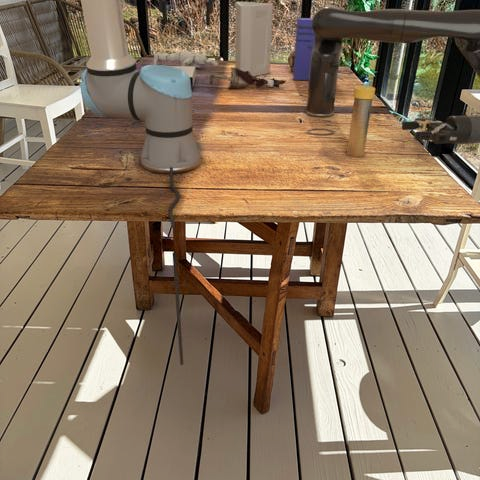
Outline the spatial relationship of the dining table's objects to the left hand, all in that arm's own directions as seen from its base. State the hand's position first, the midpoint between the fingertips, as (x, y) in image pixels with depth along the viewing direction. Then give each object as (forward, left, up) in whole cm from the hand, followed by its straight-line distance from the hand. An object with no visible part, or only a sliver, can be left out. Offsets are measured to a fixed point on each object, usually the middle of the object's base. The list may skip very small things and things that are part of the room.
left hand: (186, 24), depth 150 cm
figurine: (+36, -13, -27) cm, 47 cm away
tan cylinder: (-29, -55, -27) cm, 68 cm away
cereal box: (+59, -38, -27) cm, 75 cm away
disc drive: (+36, +18, -27) cm, 48 cm away
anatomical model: (+77, -29, -27) cm, 86 cm away
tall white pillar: (+66, -11, -27) cm, 72 cm away
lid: (-29, -55, -10) cm, 63 cm away
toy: (+69, +22, -27) cm, 77 cm away
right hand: (-24, -69, -21) cm, 76 cm away
